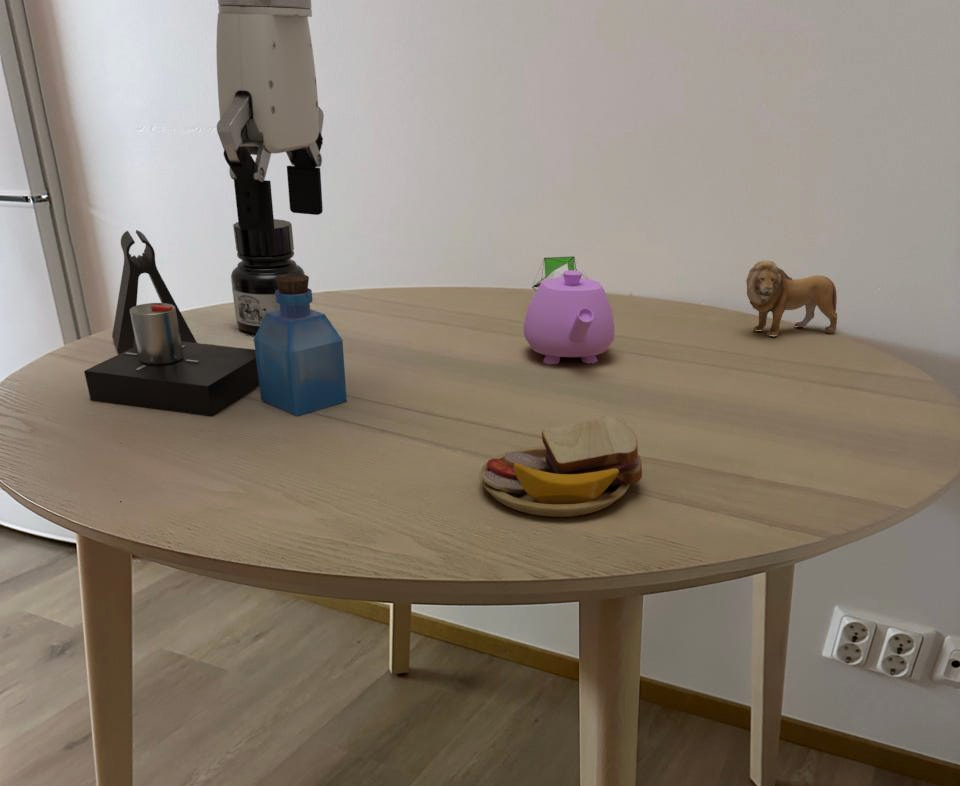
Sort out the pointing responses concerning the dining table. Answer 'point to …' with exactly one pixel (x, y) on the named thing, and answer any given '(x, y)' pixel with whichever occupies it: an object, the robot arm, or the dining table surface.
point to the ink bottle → (260, 271)
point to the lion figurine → (789, 295)
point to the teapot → (569, 319)
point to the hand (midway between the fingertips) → (282, 221)
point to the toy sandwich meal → (567, 470)
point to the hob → (177, 379)
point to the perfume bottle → (299, 352)
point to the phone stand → (129, 289)
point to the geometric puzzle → (556, 267)
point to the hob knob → (156, 333)
